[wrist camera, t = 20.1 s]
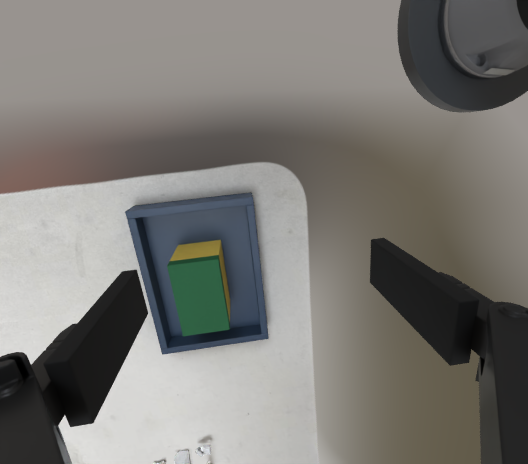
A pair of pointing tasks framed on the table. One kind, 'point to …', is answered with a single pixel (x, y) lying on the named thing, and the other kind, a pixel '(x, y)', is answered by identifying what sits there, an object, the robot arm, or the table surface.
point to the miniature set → (183, 456)
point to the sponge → (200, 287)
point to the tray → (194, 231)
